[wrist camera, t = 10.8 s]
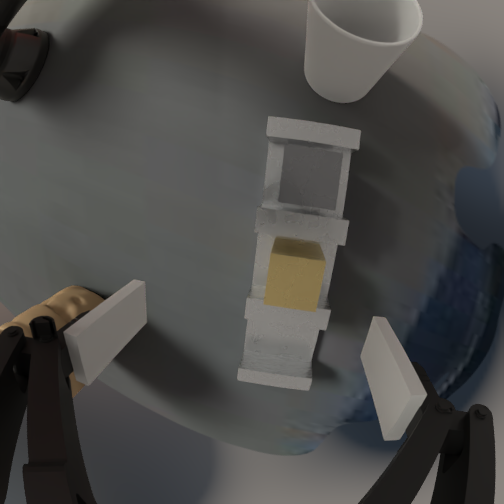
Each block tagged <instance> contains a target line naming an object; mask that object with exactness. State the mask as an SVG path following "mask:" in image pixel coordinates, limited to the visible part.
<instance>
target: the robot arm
mask: <svg viewBox="0 0 504 504" xmlns="http://www.w3.org/2000/svg"><path fill="white" fill-rule="evenodd" d="M26 1H27V0H0V99H1V100H4V101H16V100H18V99H20V98H21V97H22V96H23V95H24V94H25V93H26V92H27V91H28V90H29V89H30V87H31V86H32V85H33V83H34V81H35V80H36V78H37V76H38V75H39V73H40V71H41V68H42V66H43V64H44V61H45V58H46V55H47V52H48V46H49V38H48V35H47V33H46V32H44V31H42V30H39V29H35V28H31V29H15V30H11V29H8V28H7V26H8V25H9V23H10V22H11V21H12V19H13V18H14V17H15V15H16V14H17V13H18V11H19V10H20V9H21V7H22V6H23V5H24V3H25V2H26ZM146 323H147V314H146V293H145V282H144V281H139V280H133V281H131V282H130V283H128V284H127V285H126V286H124V287H123V288H121V289H120V290H119V291H117V292H116V293H115V294H113V295H112V296H110V297H109V298H108V299H106V300H105V301H104V302H102V303H101V304H100V305H98V306H97V307H95V308H94V309H93V310H91V311H90V310H88V311H86V312H83V313H81V314H79V315H78V316H77V317H75V319H72V320H71V321H70V322H68V323H67V324H66V325H64V326H63V327H62V328H60V329H59V330H58V331H57V330H56V325H55V321H54V319H53V318H52V317H50V316H38V317H36V318H33V319H32V320H31V321H30V323H29V325H30V329H31V333H32V337H33V338H31V337H26V336H25V335H24V331H23V329H22V328H21V327H19V326H9V327H7V328H6V329H4V330H3V331H2V333H1V334H0V504H4V502H5V499H6V494H7V489H8V483H9V477H10V471H11V466H12V461H13V456H14V451H15V447H16V443H17V439H18V435H19V431H20V427H21V424H22V420H23V416H24V413H25V410H26V407H27V439H28V456H29V463H28V464H24V465H23V481H24V489H25V496H26V502H27V504H97V503H96V501H95V498H94V496H93V493H92V490H91V486H90V483H89V479H88V476H87V472H86V468H85V464H84V460H83V456H82V452H81V447H80V442H79V437H78V431H77V426H76V419H75V413H74V406H73V398H72V389H71V380H70V377H69V375H70V374H71V373H72V372H73V371H74V375H75V378H76V381H78V382H81V383H83V384H85V385H87V386H89V385H90V384H91V383H92V382H93V380H94V379H95V378H96V377H97V376H98V375H99V374H100V373H101V372H102V371H103V369H104V368H105V367H106V366H107V365H108V364H109V363H110V362H111V361H112V360H113V358H114V357H115V356H116V355H117V354H118V353H119V352H120V351H121V350H122V349H123V348H124V347H125V345H126V344H127V343H128V342H129V341H130V340H131V339H132V338H133V337H134V336H135V335H136V334H137V332H138V331H139V330H140V329H141V328H142V327H143V326H144V325H145V324H146ZM360 357H361V360H362V364H363V367H364V370H365V373H366V377H367V380H368V383H369V387H370V390H371V393H372V397H373V400H374V404H375V407H376V411H377V415H378V418H379V422H380V426H381V430H382V433H383V437H384V440H398V439H400V438H401V436H402V435H403V434H404V432H405V431H406V434H407V437H408V438H407V439H406V440H405V442H404V443H403V445H402V446H401V447H400V449H399V450H398V452H397V454H396V455H395V457H394V458H393V460H392V461H391V462H390V464H389V465H388V467H387V468H386V470H385V471H384V472H383V473H382V475H381V476H380V477H379V479H378V480H377V481H376V482H375V484H374V485H373V486H372V488H371V489H370V490H369V491H368V492H367V494H366V495H365V496H364V497H363V498H362V499H361V501H360V502H359V503H358V504H411V503H412V501H413V500H414V498H415V496H416V495H417V493H418V491H419V490H420V488H421V486H422V484H423V482H424V481H425V479H426V477H427V475H428V473H429V471H430V469H431V468H432V465H433V464H434V462H435V459H436V457H437V455H438V453H441V454H440V460H439V466H438V472H437V477H436V482H435V487H434V491H433V495H432V500H431V503H430V504H494V495H495V439H494V426H493V417H492V413H491V411H490V410H489V409H488V408H487V407H486V406H484V405H481V404H475V405H473V406H471V408H470V409H469V411H468V412H463V411H456V410H455V408H454V406H453V404H452V403H451V402H449V401H448V400H446V399H443V398H439V396H438V394H437V392H436V390H435V388H434V387H433V385H432V383H431V382H430V379H429V377H428V376H427V374H426V372H425V370H424V369H423V367H421V366H420V365H419V364H418V363H417V362H410V360H409V358H408V356H407V355H406V353H405V351H404V349H403V347H402V345H401V344H400V342H399V340H398V338H397V337H396V335H395V333H394V331H393V330H392V328H391V326H390V324H389V323H388V321H387V319H386V318H385V317H377V316H373V319H372V322H371V325H370V329H369V332H368V335H367V338H366V341H365V344H364V347H363V350H362V353H361V356H360Z"/></svg>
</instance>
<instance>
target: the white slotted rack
mask: <svg viewBox="0 0 504 504" xmlns="http://www.w3.org/2000/svg"><path fill="white" fill-rule="evenodd" d="M360 135H361V130H357V129H352V128H347V127H342V126H336V125H331V124H325V123H318V122H312V121H305V120H297V119H290V118H281V117H271V116H268V123H267V131H266V137H267V138H268V140H269V149H268V158H267V166H266V174H265V183H264V191H263V200H262V204H261V205H260V206H258V208H257V216H256V225H255V233H258V241H257V249H256V257H255V266H254V274H253V282H252V286H251V289H250V291H249V294H248V296H247V301H246V309H245V319H248V322H247V330H246V338H245V346H244V352H243V355H242V358H241V362H240V365H239V368H238V377H237V380H240V381H245V382H251V383H257V384H263V385H269V386H276V387H283V388H291V389H299V390H308V391H309V388H310V385H311V382H312V362H311V360H312V356H313V352H314V349H315V345H316V341H317V337H318V333H319V330H326V329H327V325H328V321H329V317H330V313H331V308H330V304H329V300H328V296H327V295H328V290H329V286H330V281H331V276H332V271H333V266H334V261H335V256H336V251H337V245H343V246H345V242H346V237H347V231H348V226H349V220H347V219H346V218H345V217H344V216H343V210H344V203H345V197H346V190H347V182H348V175H349V167H350V158H351V153H353V152H355V151H358V150H359V145H360ZM275 238H282V239H289V240H295V241H302V242H309V243H315V244H320V246H321V249H322V252H323V254H324V257H325V260H326V265H325V271H324V276H323V280H322V285H321V290H320V295H319V299H318V304H317V308H316V312H311V311H304V310H297V309H290V308H283V307H277V306H270V305H264V304H263V303H264V296H265V289H266V282H267V275H268V268H269V261H270V254H271V250H272V247H273V244H274V241H275Z"/></svg>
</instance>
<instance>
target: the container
mask: <svg viewBox="0 0 504 504" xmlns="http://www.w3.org/2000/svg"><path fill="white" fill-rule="evenodd" d="M104 301H105V300H104V299H103V298H101V297H100V296H99V295H97V294H95V293H93V292H91V291H89V290H87V289H85V288H83V287H81V286H70V287H67V288H65V289H63V290H61V291H59V292H58V293H56V294H55V295H53V296H52V297H50V298H49V299H47V300H45V301H43V302H42V303H41V304H37V305H35V306H33V307H31V308H30V309H28V310H26V311H25V312H23V313H21V314H20V315H18V316H17V317H15V318H14V319H13V321H11V322H8V323H5V324H3V325H2V326H0V334H1V333H2V331H3V330H4V329H6V328H7V327H9V326H19V327H21V328H22V329H23V331H24V335H25V336H26V337H31V338H33V337H32V333H31V329H30V325H29V323H30V321H31V320H32V319H33V318H36V317H38V316H50V317H52V318H53V319H54V321H55V325H56V330H57V331H58V330H59V329H60V328H62V327H63V326H64V325H66V324H67V323H68V322H70V321H71V320H72V319H75V317H77V316H78V315H79V314H81V313H83V312H86V311H88V310H90V311H91V310H93V309H94V308H95V307H97V306H98V305H100V304H101V303H102V302H104ZM69 377H70V380H71V389H72V398H73V397H74V396H75V395H76V394H77V393H78V392H79V391H80V390H81V389H82V388H83V387H84V385H85V384H83V383H81V382H78V381H76V378H75V375H74V371H73V372H72V373H71V374H70V375H69Z"/></svg>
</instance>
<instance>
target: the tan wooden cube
mask: <svg viewBox="0 0 504 504" xmlns="http://www.w3.org/2000/svg"><path fill="white" fill-rule="evenodd" d="M325 265H326V260H325V257H324V254H323V252H322V249H321V246H320V244H315V243H309V242H302V241H295V240H289V239H282V238H275V241H274V244H273V247H272V250H271V254H270V261H269V268H268V275H267V282H266V289H265V296H264V303H263V304H264V305H270V306H277V307H283V308H290V309H297V310H304V311H311V312H316V308H317V304H318V299H319V295H320V290H321V285H322V280H323V276H324V271H325Z"/></svg>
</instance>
